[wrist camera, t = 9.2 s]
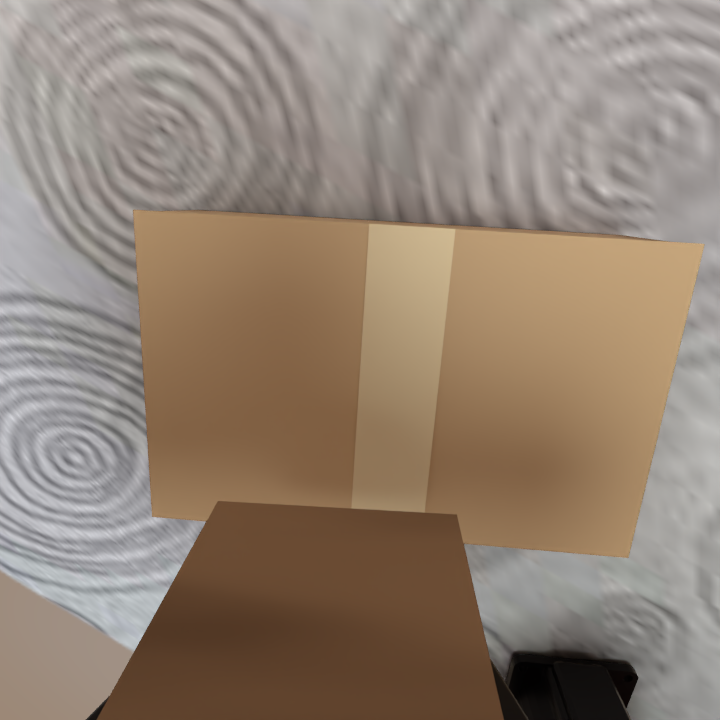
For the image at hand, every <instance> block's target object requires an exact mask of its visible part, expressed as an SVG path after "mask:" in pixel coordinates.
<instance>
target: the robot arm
mask: <svg viewBox="0 0 720 720" xmlns="http://www.w3.org/2000/svg"><path fill="white" fill-rule="evenodd" d="M490 661H491V659H490ZM491 666H492V670H493V675H494V679H495V683H496V688H497V692H498V696H499V701H500V705H501V709H502V714H503V718H504V720H631V718H630V716H629V714H628V712H627V710H626V708H627V706H628V703H629V701H630V698H631V695H632V693H633V690H634V688H635V685H636V683H637V680H638V676H637V674H636V672H635V670H634V668H633V667H632V666H631V665H627V664H618V663H607V662H597V661H586V660H576V659H565V658H555V657H544V656H534V655H523V654H521V655H516V656H514V657H513V658H512V660H511V664H510V669H509V673H508V677H507V681H506V683H505V681H504V680H503V678H502V677H501V675H500V673H499V672H498V670H497V669H496V667H495V665H494V664H493V662H492V661H491ZM108 698H109V697H108ZM108 698H107V699H106V700H105V701H104V702H103V703H102V704H101V705H100V706H99V707H98V708H97V709H96V710H95V711H94V712H93V713H92V714H91V715H90V716H89V717H88V718H87V719H86V720H97V718H98V716H99V715H100V713H101V711H102V709H103V707H104V706H105V704H106V702H107V700H108Z"/></svg>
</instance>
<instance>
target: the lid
mask: <svg viewBox="0 0 720 720" xmlns="http://www.w3.org/2000/svg"><path fill="white" fill-rule="evenodd" d="M133 216H134V232H135V248H136V264H137V280H138V296H139V312H140V328H141V344H142V360H143V376H144V392H145V408H146V424H147V441H148V457H149V473H150V489H151V505H152V517H162V518H173V519H185V520H196V521H207V520H208V518H209V516H210V514H211V512H212V511H213V509H214V507H215V505H216V503H217V502H218V501H228V502H246V503H263V504H281V505H299V506H317V507H334V508H352V509H370V510H387V511H405V512H423V513H440V514H457V517H458V522H459V526H460V530H461V535H462V539H463V544H474V545H486V546H497V547H509V548H521V549H532V550H544V551H555V552H567V553H578V554H590V555H602V556H613V557H625V558H628V557H629V553H630V548H631V544H632V540H633V536H634V532H635V528H636V524H637V520H638V516H639V511H640V507H641V503H642V499H643V495H644V491H645V487H646V483H647V479H648V475H649V470H650V466H651V462H652V458H653V454H654V450H655V446H656V442H657V438H658V433H659V429H660V425H661V421H662V417H663V413H664V409H665V405H666V401H667V397H668V392H669V388H670V384H671V380H672V376H673V372H674V368H675V364H676V360H677V355H678V351H679V347H680V343H681V339H682V335H683V331H684V327H685V323H686V318H687V314H688V310H689V306H690V302H691V298H692V294H693V290H694V286H695V282H696V277H697V273H698V269H699V265H700V261H701V257H702V253H703V249H704V245H705V244H696V243H679V242H662V241H646V240H629V239H612V238H596V237H579V236H562V235H546V234H529V233H512V232H496V231H479V230H462V229H449V228H433V227H416V226H399V225H383V224H362V223H345V222H329V221H312V220H295V219H279V218H262V217H245V216H229V215H212V214H195V213H179V212H162V211H145V210H133Z"/></svg>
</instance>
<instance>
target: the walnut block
mask: <svg viewBox="0 0 720 720" xmlns="http://www.w3.org/2000/svg"><path fill="white" fill-rule="evenodd" d="M97 720H504V718H503V714H502V709H501V705H500V701H499V696H498V692H497V688H496V683H495V679H494V675H493V670H492V666H491V661H490V657H489V653H488V648H487V644H486V640H485V635H484V631H483V626H482V622H481V618H480V613H479V609H478V605H477V600H476V596H475V592H474V587H473V583H472V578H471V574H470V570H469V565H468V561H467V557H466V552H465V548H464V544H463V539H462V535H461V530H460V526H459V522H458V517H457V514H440V513H423V512H405V511H387V510H370V509H352V508H334V507H317V506H299V505H281V504H263V503H246V502H228V501H218V502H217V503H216V505H215V507H214V509H213V511H212V512H211V514H210V516H209V518H208V520H207V521H206V523H205V525H204V527H203V529H202V531H201V532H200V534H199V536H198V538H197V540H196V541H195V543H194V545H193V547H192V549H191V550H190V552H189V554H188V556H187V558H186V559H185V561H184V563H183V565H182V567H181V568H180V570H179V572H178V574H177V576H176V577H175V579H174V581H173V583H172V585H171V586H170V588H169V590H168V592H167V594H166V595H165V597H164V599H163V601H162V603H161V604H160V606H159V608H158V610H157V612H156V613H155V615H154V617H153V619H152V621H151V623H150V624H149V626H148V628H147V630H146V632H145V633H144V635H143V637H142V639H141V641H140V642H139V644H138V646H137V648H136V650H135V651H134V653H133V655H132V657H131V659H130V660H129V662H128V664H127V666H126V668H125V670H124V671H123V673H122V675H121V677H120V678H119V680H118V682H117V684H116V686H115V687H114V689H113V691H112V693H111V695H110V696H109V698H108V700H107V702H106V704H105V706H104V707H103V709H102V711H101V713H100V715H99V716H98V718H97Z"/></svg>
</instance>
